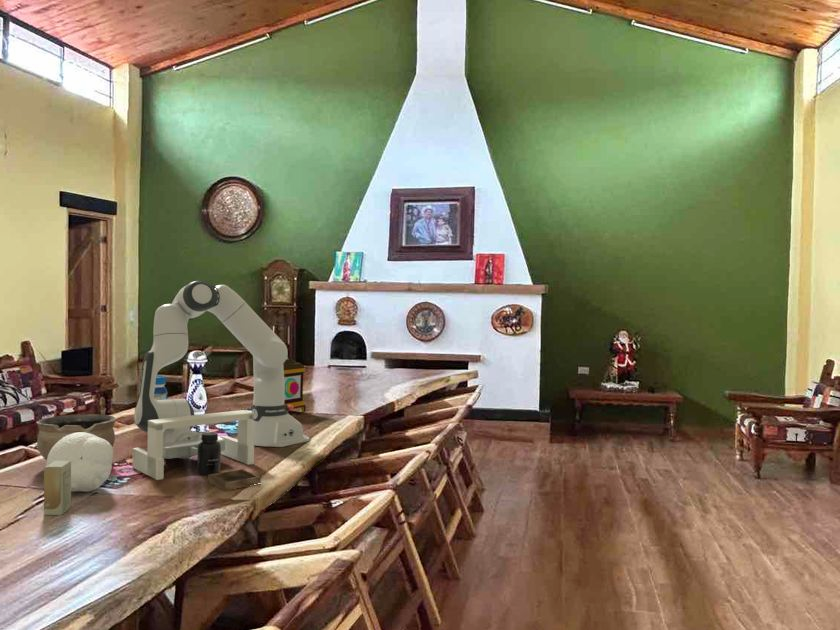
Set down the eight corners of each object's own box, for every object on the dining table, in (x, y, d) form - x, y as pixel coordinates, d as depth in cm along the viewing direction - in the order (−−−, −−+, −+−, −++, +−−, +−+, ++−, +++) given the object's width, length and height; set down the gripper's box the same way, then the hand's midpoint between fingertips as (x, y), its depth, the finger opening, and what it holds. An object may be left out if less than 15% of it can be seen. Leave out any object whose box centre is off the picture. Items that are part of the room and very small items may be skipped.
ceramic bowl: (35, 478, 208) (35, 427, 207) (36, 461, 227) (36, 414, 227) (118, 471, 218) (118, 422, 218) (112, 455, 238) (112, 410, 237)
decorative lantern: (310, 412, 328) (311, 346, 327) (279, 418, 311) (281, 349, 310) (277, 407, 339) (279, 343, 337) (246, 413, 322) (247, 346, 321)
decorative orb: (70, 479, 209) (70, 424, 208) (130, 481, 208) (131, 427, 207) (30, 499, 189) (31, 439, 188) (97, 502, 188) (97, 441, 188)
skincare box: (53, 507, 183) (54, 459, 182) (71, 507, 183) (72, 460, 183) (42, 515, 177) (43, 466, 176) (61, 515, 177) (61, 466, 176)
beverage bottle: (171, 424, 291) (171, 375, 290) (161, 428, 282) (162, 378, 282) (151, 423, 292) (151, 374, 291) (140, 427, 283) (141, 377, 283)
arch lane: (226, 453, 246) (227, 405, 245) (253, 463, 233) (254, 413, 232) (132, 467, 224) (133, 414, 223) (156, 479, 211) (157, 424, 210)
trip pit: (241, 476, 217) (241, 469, 217) (260, 484, 209) (260, 476, 209) (208, 482, 210) (208, 474, 210) (226, 490, 202) (226, 483, 202)
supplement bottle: (213, 476, 216) (213, 436, 216) (192, 474, 218) (193, 435, 217) (224, 470, 223) (225, 432, 223) (204, 468, 225) (205, 430, 224)
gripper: (152, 438, 226) (171, 446, 216) (213, 431, 240) (233, 438, 230) (152, 458, 226) (171, 467, 216) (213, 449, 240) (233, 457, 230)
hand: (204, 452), depth 223 cm, fingers closed, pressing on supplement bottle
